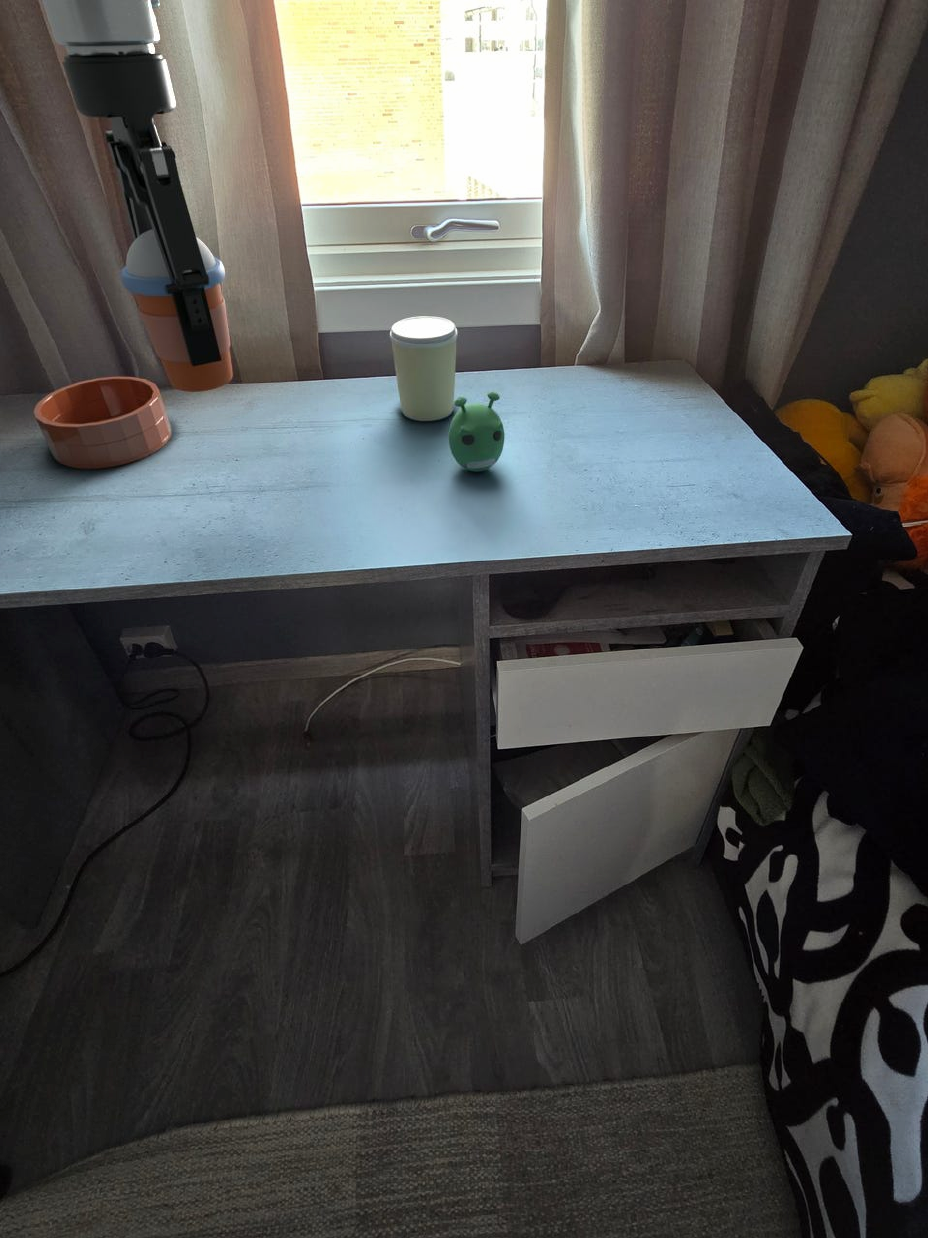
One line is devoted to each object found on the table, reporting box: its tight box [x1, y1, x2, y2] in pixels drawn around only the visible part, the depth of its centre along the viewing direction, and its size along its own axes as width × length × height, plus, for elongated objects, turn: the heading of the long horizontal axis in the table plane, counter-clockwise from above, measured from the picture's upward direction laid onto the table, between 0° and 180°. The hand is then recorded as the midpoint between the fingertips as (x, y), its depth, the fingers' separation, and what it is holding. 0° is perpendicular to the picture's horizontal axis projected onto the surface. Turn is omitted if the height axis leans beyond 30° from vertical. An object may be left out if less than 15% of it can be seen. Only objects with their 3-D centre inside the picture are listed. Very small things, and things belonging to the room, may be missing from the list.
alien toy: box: [448, 391, 505, 472], centre depth 86 cm, size 7×8×10 cm
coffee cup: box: [389, 315, 459, 422], centre depth 98 cm, size 9×9×12 cm
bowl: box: [33, 376, 172, 470], centre depth 94 cm, size 16×16×6 cm
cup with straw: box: [120, 229, 234, 393], centre depth 64 cm, size 9×9×18 cm
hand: (192, 346), depth 68 cm, fingers closed on cup with straw, 9 cm apart
